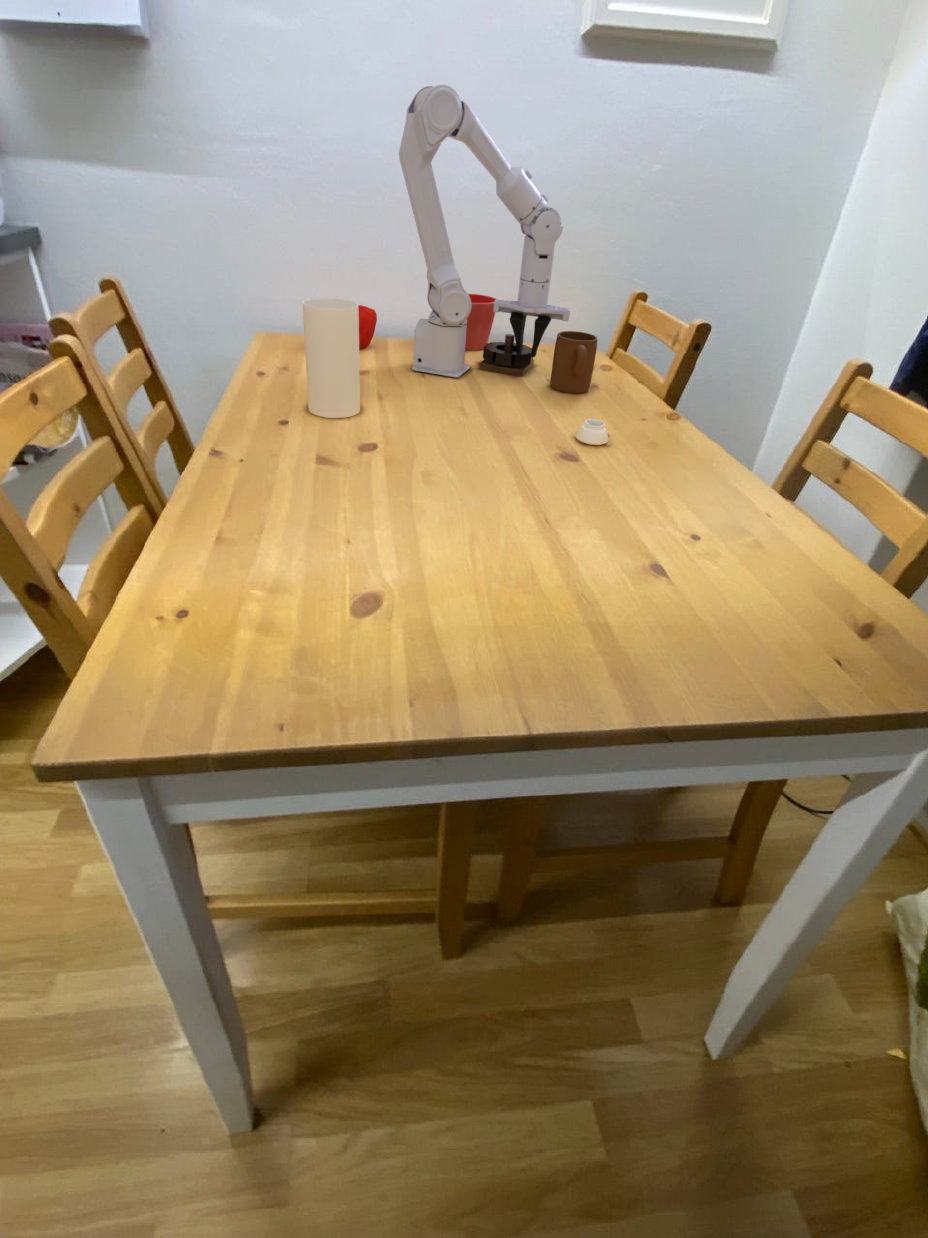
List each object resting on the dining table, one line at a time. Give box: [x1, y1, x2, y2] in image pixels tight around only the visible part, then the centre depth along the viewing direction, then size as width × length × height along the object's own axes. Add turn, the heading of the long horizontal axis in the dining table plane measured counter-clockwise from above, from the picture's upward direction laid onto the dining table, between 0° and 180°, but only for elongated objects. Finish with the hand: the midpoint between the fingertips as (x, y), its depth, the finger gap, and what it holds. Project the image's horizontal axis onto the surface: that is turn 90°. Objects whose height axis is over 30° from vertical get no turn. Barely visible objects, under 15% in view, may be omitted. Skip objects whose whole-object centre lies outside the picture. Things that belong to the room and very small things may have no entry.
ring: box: [482, 341, 534, 367], centre depth 139 cm, size 10×10×2 cm
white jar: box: [575, 418, 610, 446], centre depth 108 cm, size 5×3×5 cm
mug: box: [549, 330, 599, 394], centre depth 127 cm, size 12×8×9 cm, turn 0°
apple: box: [358, 304, 378, 349], centre depth 143 cm, size 9×9×8 cm
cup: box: [302, 297, 361, 419], centre depth 108 cm, size 8×8×16 cm
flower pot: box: [465, 293, 498, 351], centre depth 150 cm, size 11×11×10 cm
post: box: [478, 333, 535, 377], centre depth 139 cm, size 9×9×6 cm
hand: (526, 354), depth 138 cm, fingers closed on ring, 2 cm apart
